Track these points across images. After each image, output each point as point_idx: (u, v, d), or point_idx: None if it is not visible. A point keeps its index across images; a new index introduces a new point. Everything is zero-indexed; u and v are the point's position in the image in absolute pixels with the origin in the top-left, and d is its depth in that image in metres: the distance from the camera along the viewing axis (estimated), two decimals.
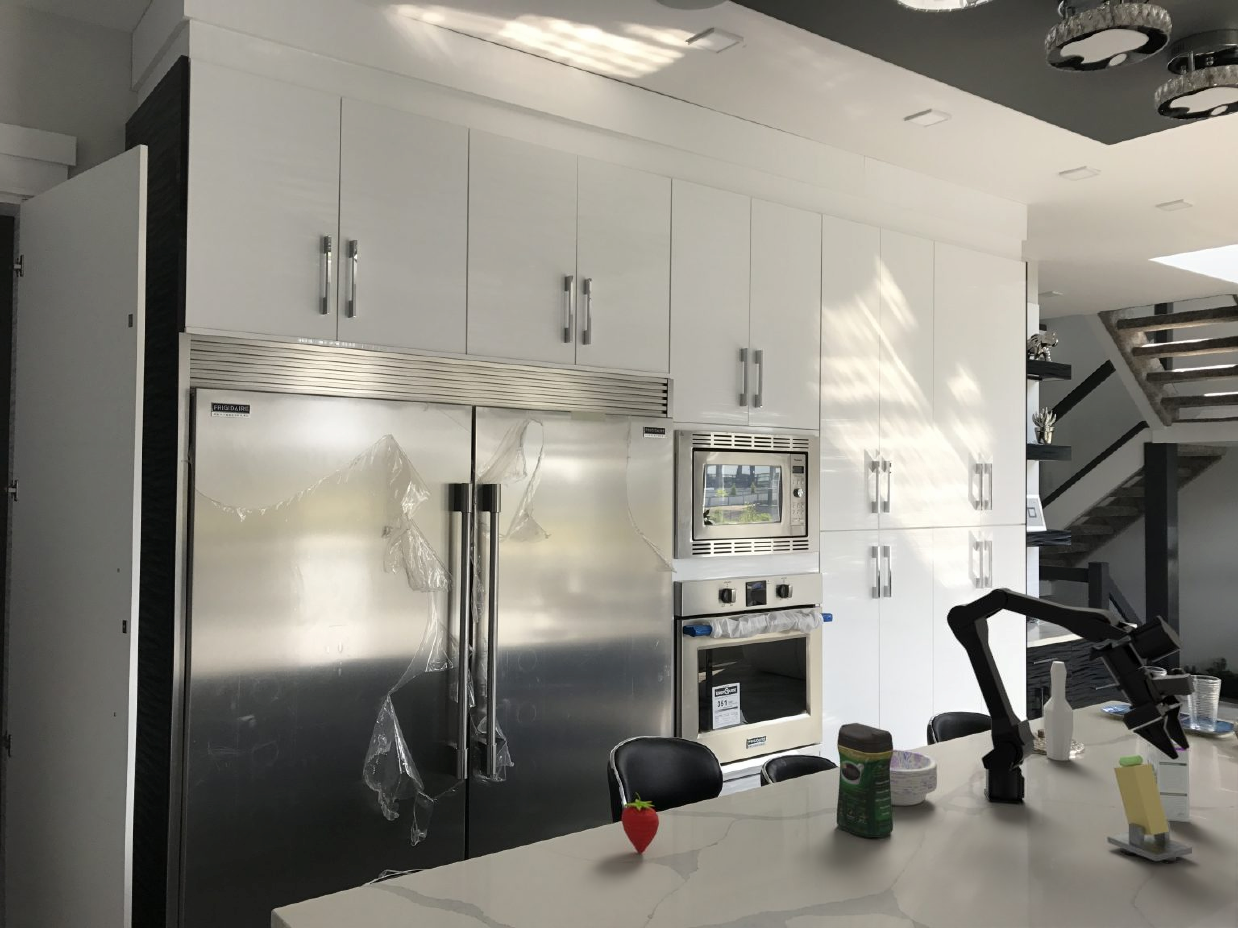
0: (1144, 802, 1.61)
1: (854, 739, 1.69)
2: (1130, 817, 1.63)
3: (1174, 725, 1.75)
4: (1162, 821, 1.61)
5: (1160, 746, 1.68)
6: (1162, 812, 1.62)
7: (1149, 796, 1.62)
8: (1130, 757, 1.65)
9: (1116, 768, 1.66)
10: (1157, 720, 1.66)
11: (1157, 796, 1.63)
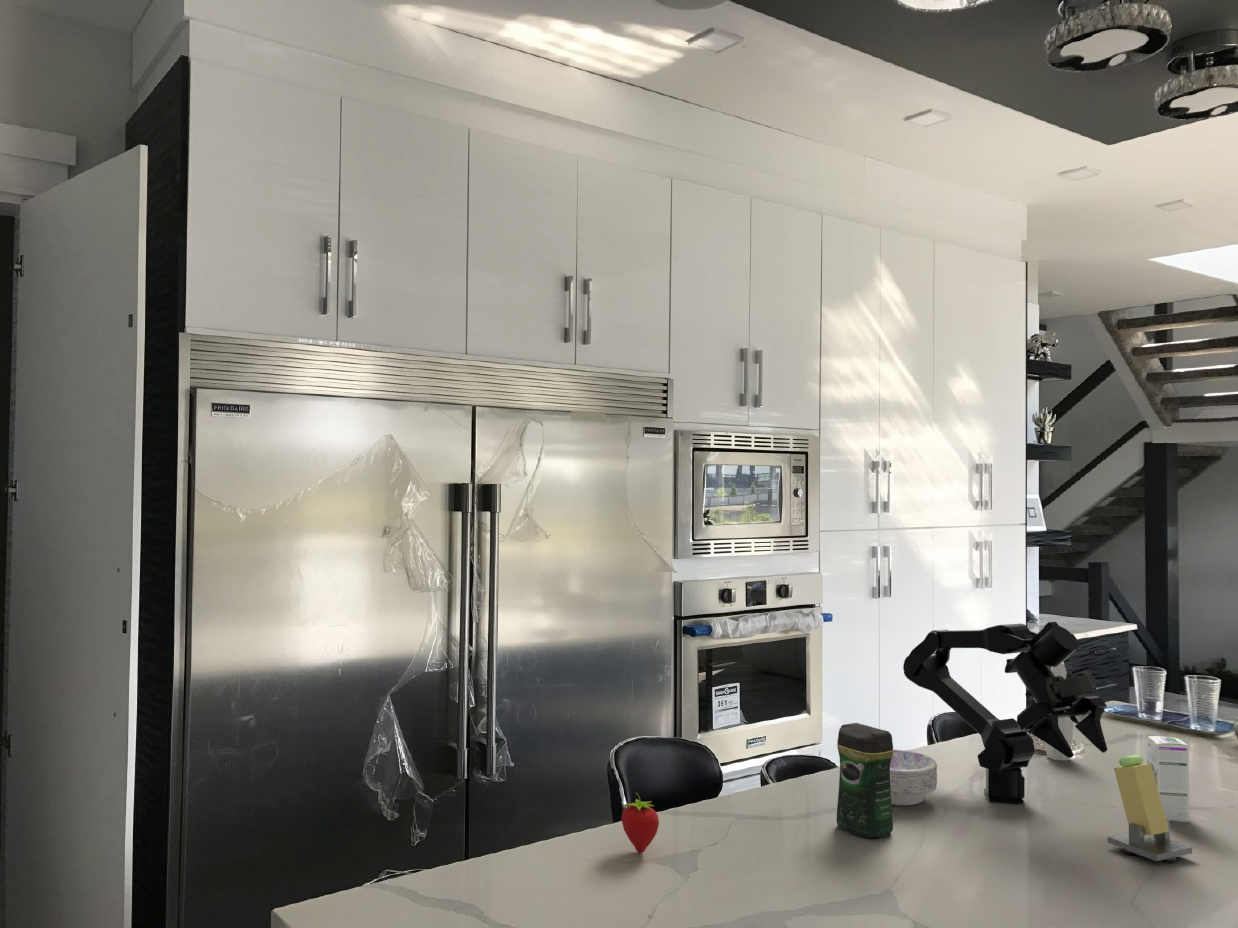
0: (1144, 802, 1.61)
1: (854, 738, 1.69)
2: (1130, 817, 1.63)
3: (1093, 729, 1.79)
4: (1162, 821, 1.61)
5: (1055, 746, 1.74)
6: (1162, 812, 1.62)
7: (1149, 796, 1.62)
8: (1130, 757, 1.65)
9: (1116, 768, 1.66)
10: (1043, 719, 1.74)
11: (1157, 796, 1.63)
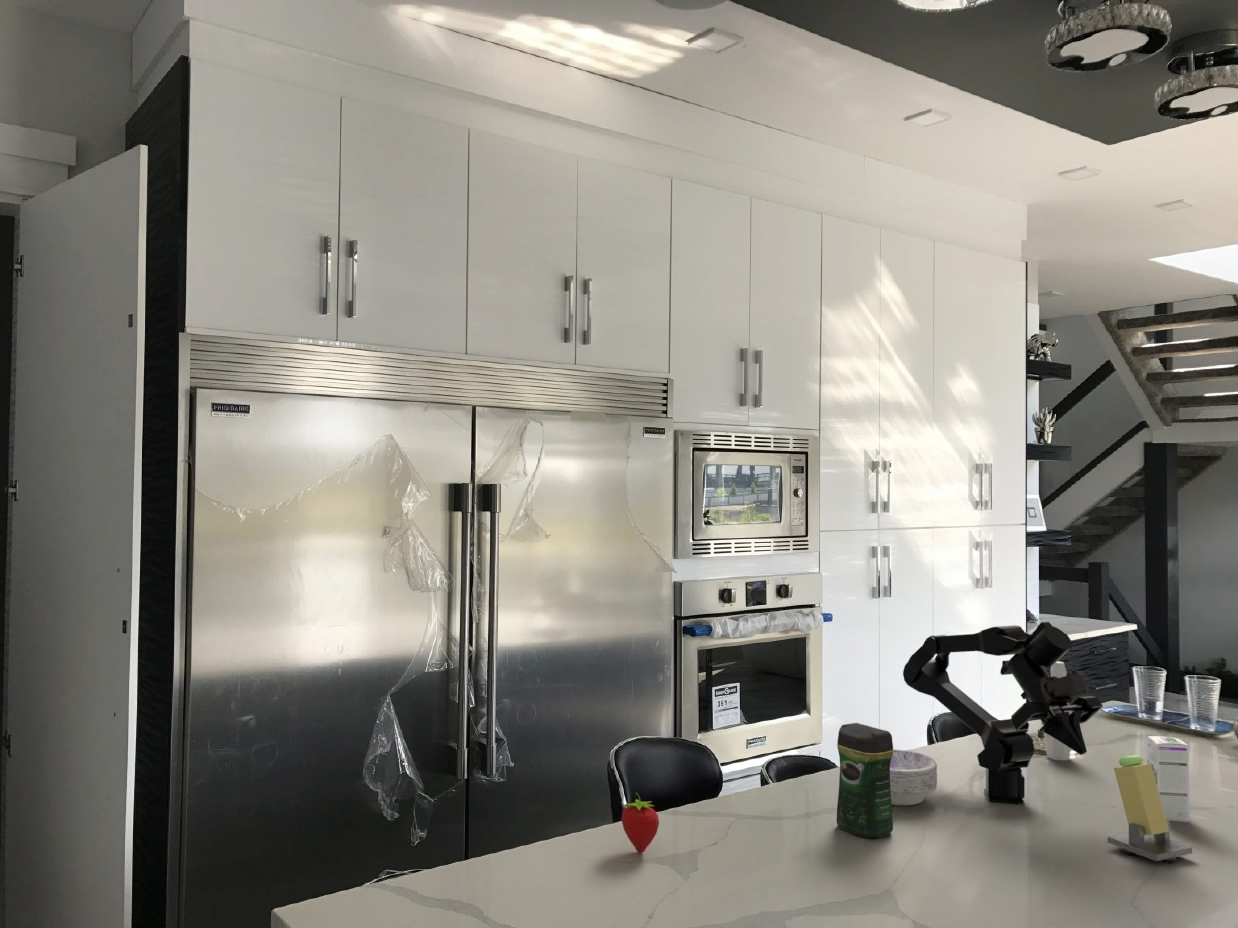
0: (1144, 802, 1.61)
1: (854, 738, 1.69)
2: (1130, 817, 1.63)
3: (1072, 731, 1.77)
4: (1162, 821, 1.61)
5: (1067, 743, 1.76)
6: (1162, 812, 1.62)
7: (1149, 796, 1.62)
8: (1130, 757, 1.65)
9: (1116, 768, 1.66)
10: (1053, 716, 1.76)
11: (1157, 796, 1.63)
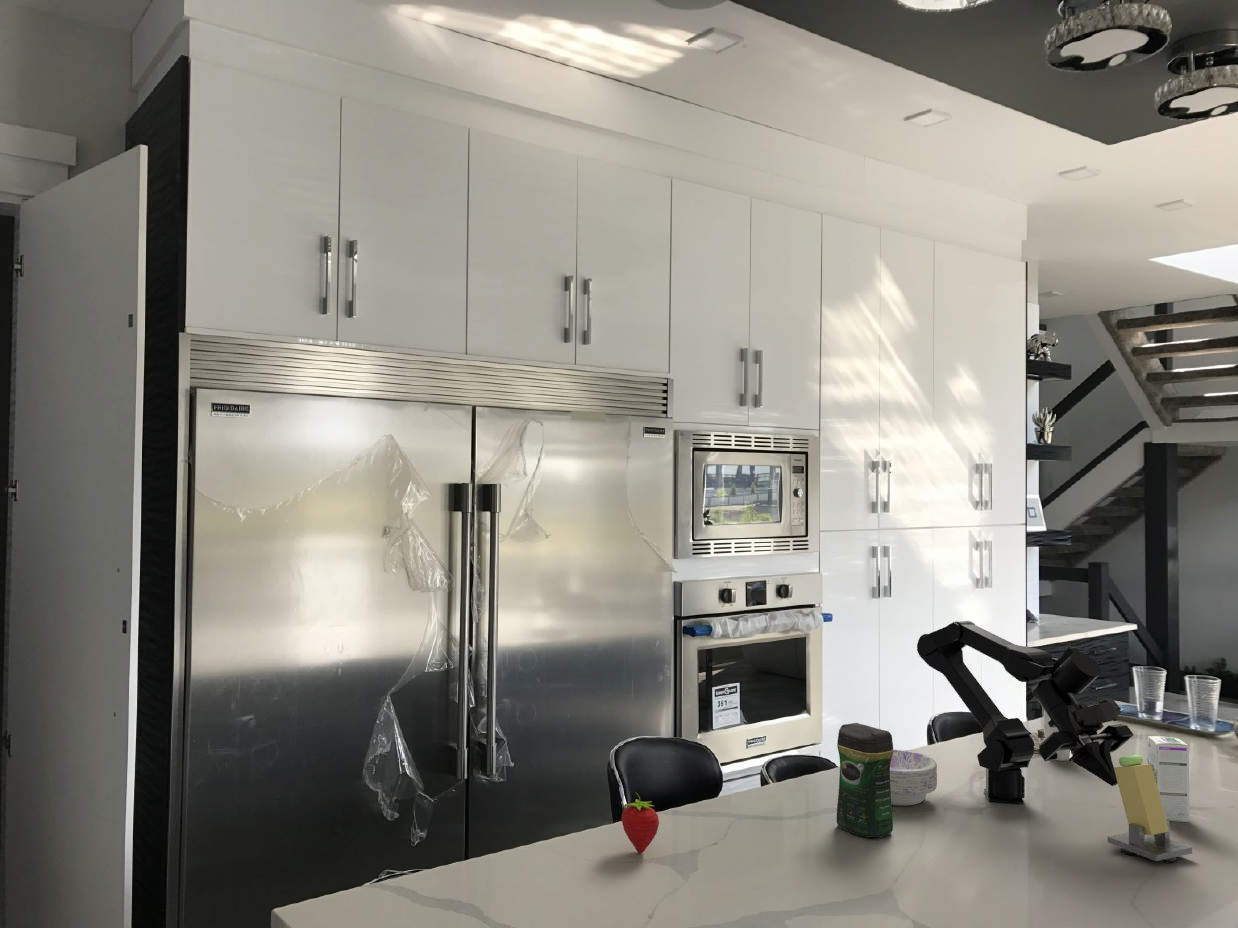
0: (1144, 802, 1.61)
1: (854, 739, 1.69)
2: (1130, 817, 1.63)
3: None
4: (1162, 821, 1.61)
5: (1097, 774, 1.70)
6: (1162, 812, 1.62)
7: (1149, 796, 1.62)
8: (1130, 757, 1.65)
9: (1116, 768, 1.66)
10: (1083, 746, 1.70)
11: (1157, 796, 1.63)
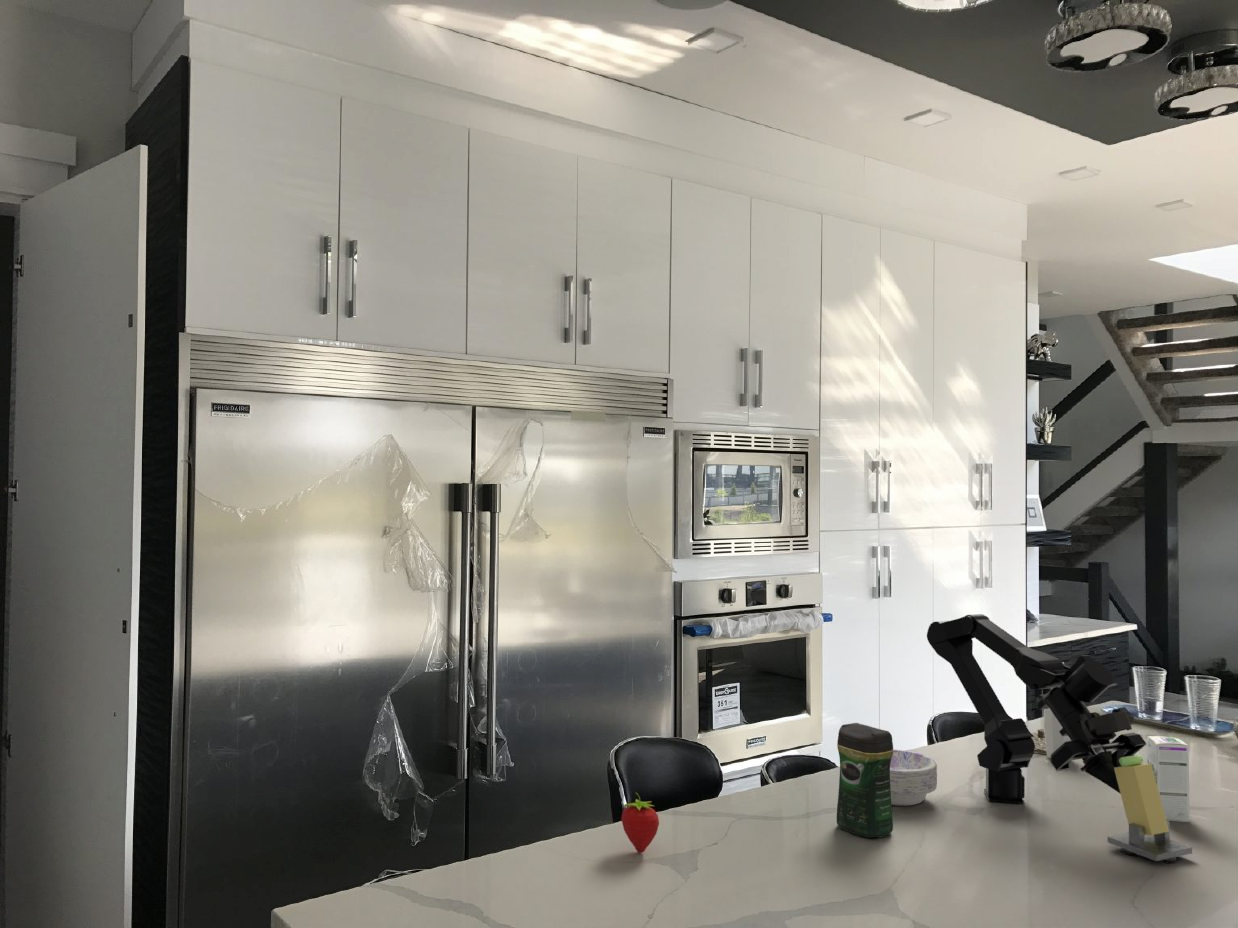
0: (1144, 802, 1.61)
1: (854, 738, 1.69)
2: (1130, 817, 1.63)
3: None
4: (1162, 821, 1.61)
5: (1110, 784, 1.68)
6: (1163, 812, 1.62)
7: (1149, 796, 1.62)
8: (1130, 757, 1.65)
9: (1116, 768, 1.66)
10: (1095, 755, 1.68)
11: (1157, 796, 1.63)
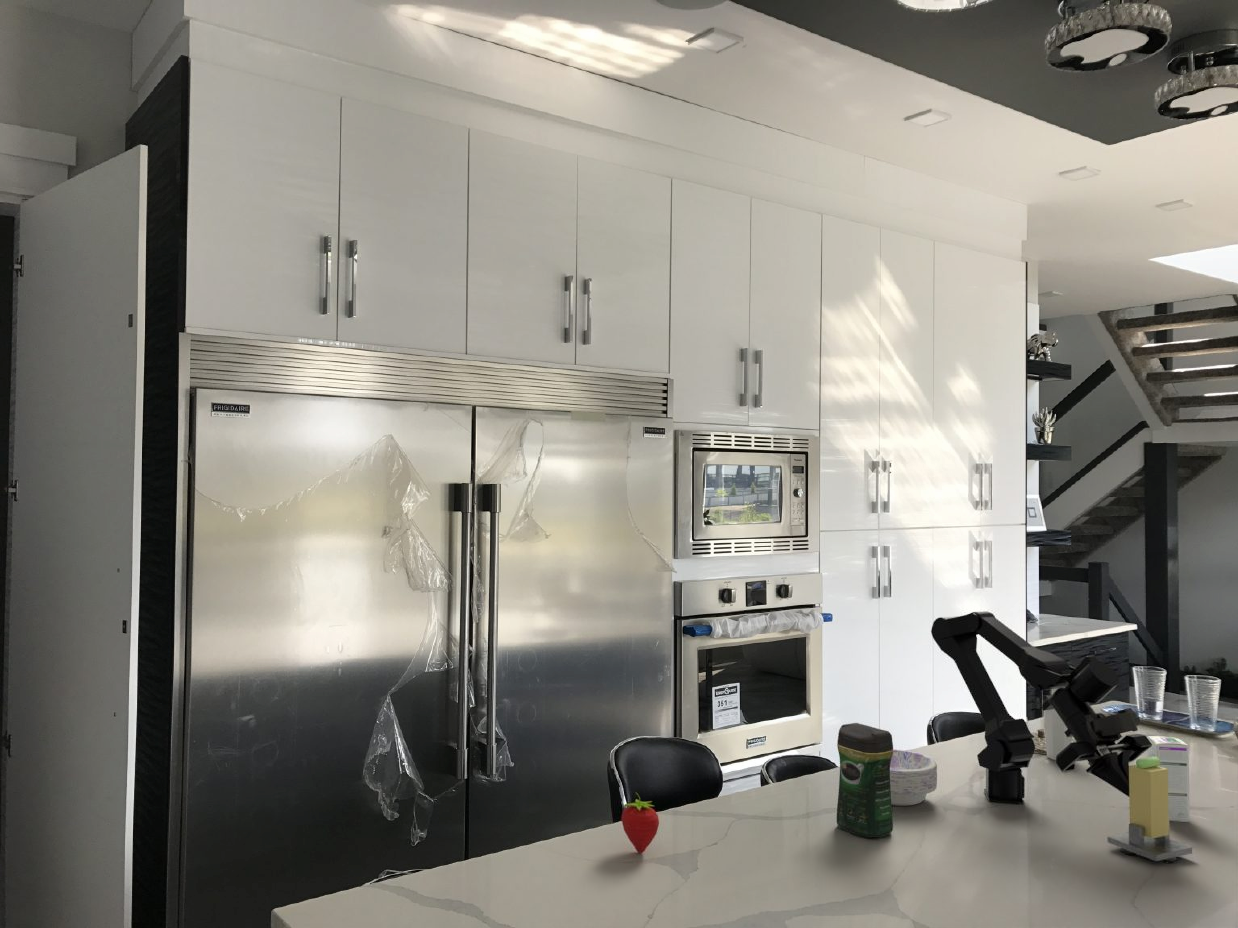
0: (1152, 807, 1.60)
1: (854, 738, 1.69)
2: (1133, 815, 1.62)
3: None
4: (1164, 825, 1.61)
5: (1116, 785, 1.67)
6: (1167, 816, 1.61)
7: (1158, 801, 1.60)
8: (1148, 760, 1.62)
9: (1131, 767, 1.63)
10: (1101, 757, 1.67)
11: (1166, 801, 1.61)
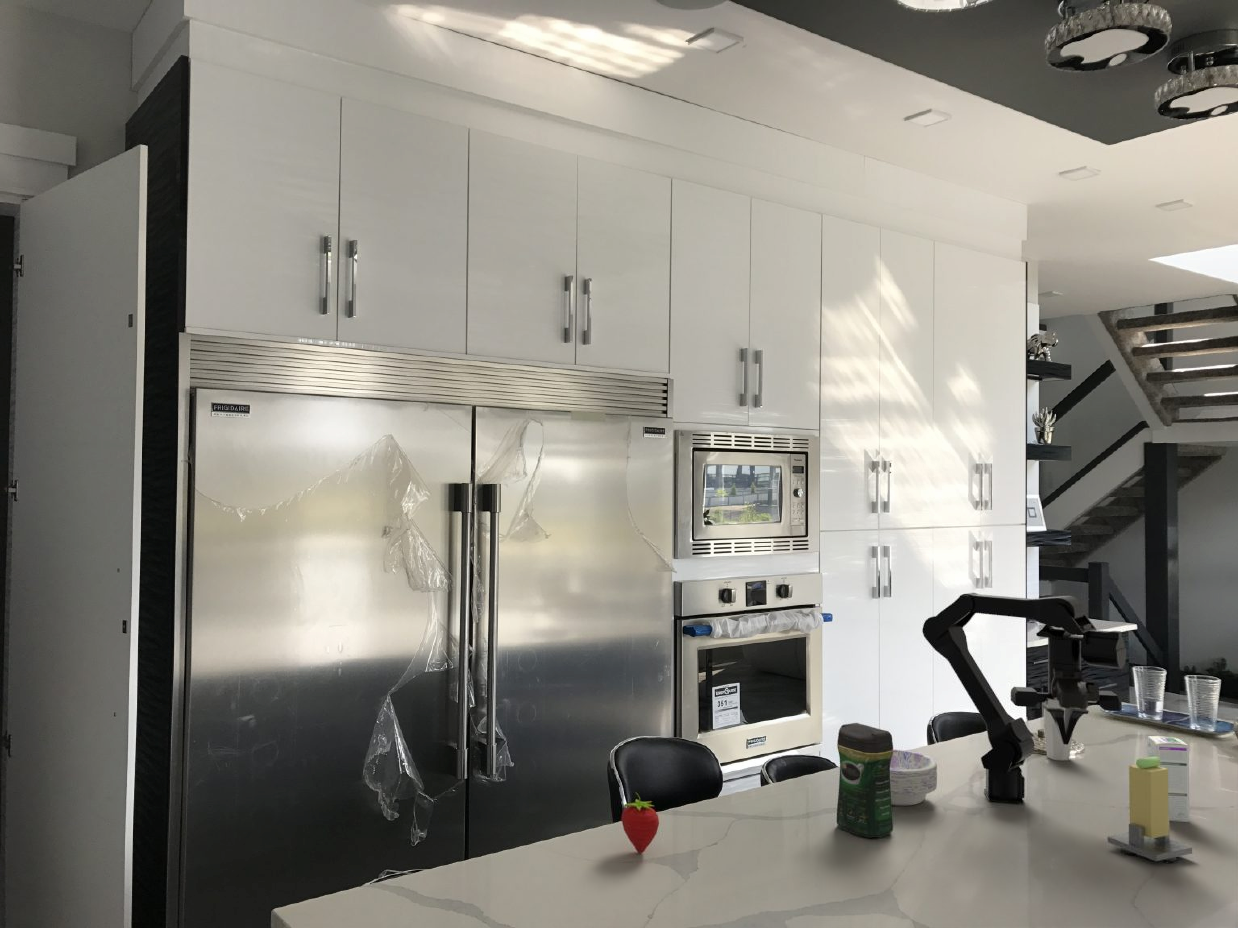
0: (1152, 807, 1.60)
1: (854, 738, 1.69)
2: (1133, 815, 1.62)
3: (1067, 722, 1.82)
4: (1164, 825, 1.61)
5: (1057, 728, 1.84)
6: (1167, 816, 1.61)
7: (1158, 801, 1.60)
8: (1148, 760, 1.62)
9: (1131, 767, 1.63)
10: (1047, 708, 1.82)
11: (1166, 801, 1.61)
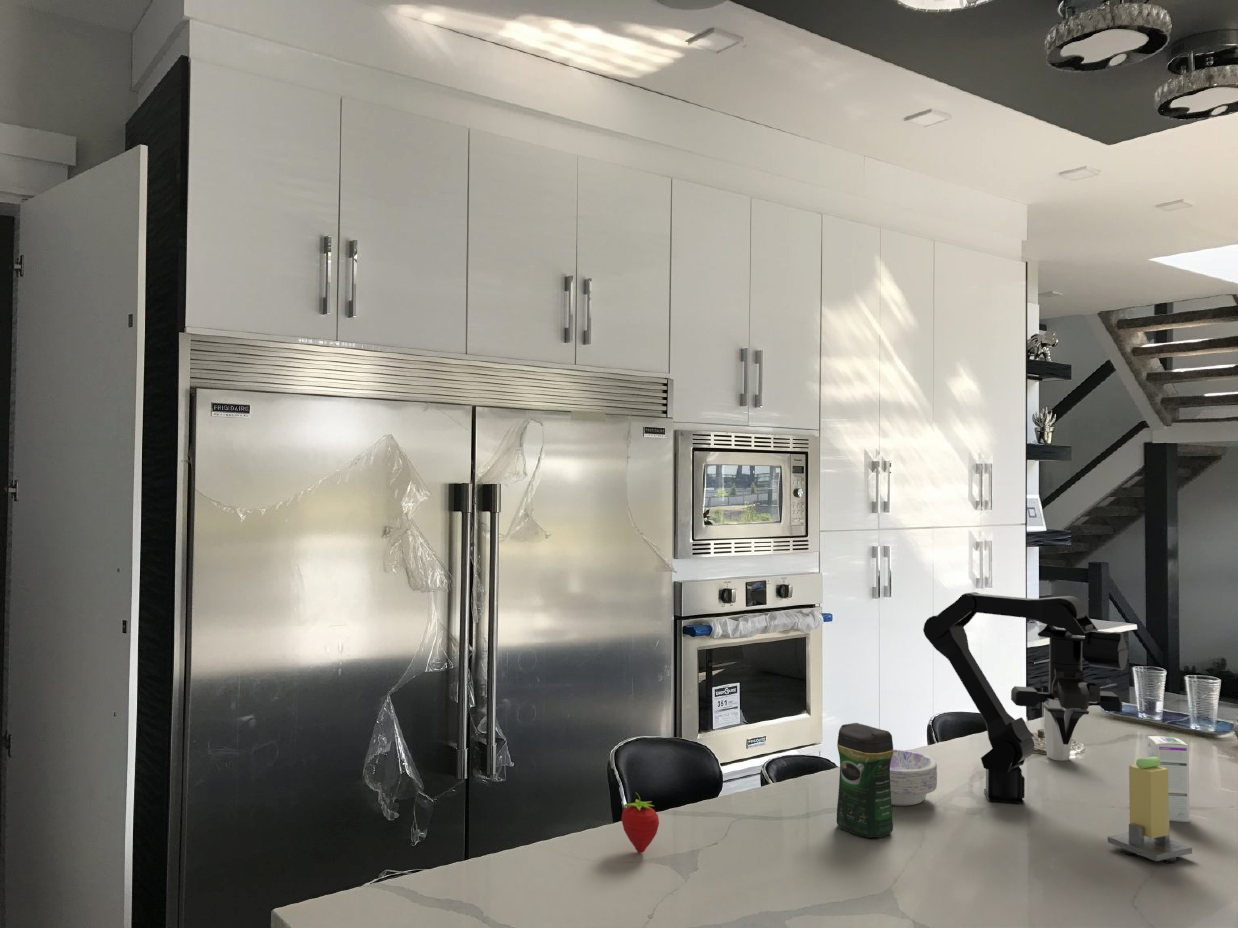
0: (1152, 807, 1.60)
1: (854, 738, 1.69)
2: (1133, 815, 1.62)
3: (1067, 722, 1.83)
4: (1164, 825, 1.61)
5: (1057, 728, 1.84)
6: (1167, 816, 1.61)
7: (1158, 801, 1.60)
8: (1148, 760, 1.62)
9: (1131, 767, 1.63)
10: (1047, 708, 1.82)
11: (1166, 801, 1.61)
